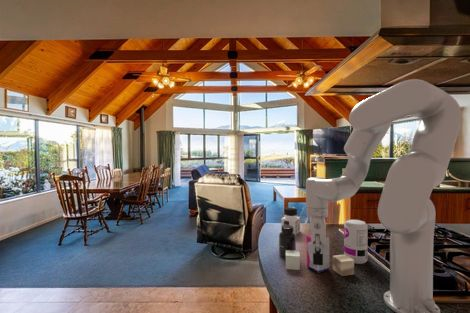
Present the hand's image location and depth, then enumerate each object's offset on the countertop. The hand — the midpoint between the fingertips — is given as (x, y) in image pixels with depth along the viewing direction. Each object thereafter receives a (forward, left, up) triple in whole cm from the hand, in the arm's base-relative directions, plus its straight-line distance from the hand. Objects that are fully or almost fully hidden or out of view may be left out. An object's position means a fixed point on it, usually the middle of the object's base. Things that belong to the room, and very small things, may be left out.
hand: (317, 259), depth 90 cm
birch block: (-2, -8, -4) cm, 9 cm away
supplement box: (0, 0, -3) cm, 3 cm away
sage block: (+2, +9, -4) cm, 10 cm away
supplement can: (+7, -17, -4) cm, 19 cm away
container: (+40, +2, -4) cm, 41 cm away
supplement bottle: (+11, +9, -4) cm, 15 cm away
